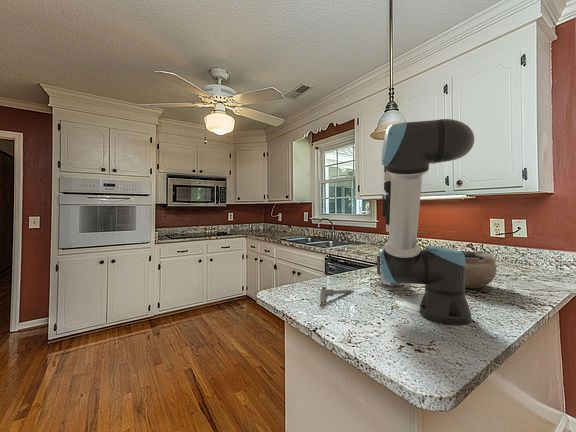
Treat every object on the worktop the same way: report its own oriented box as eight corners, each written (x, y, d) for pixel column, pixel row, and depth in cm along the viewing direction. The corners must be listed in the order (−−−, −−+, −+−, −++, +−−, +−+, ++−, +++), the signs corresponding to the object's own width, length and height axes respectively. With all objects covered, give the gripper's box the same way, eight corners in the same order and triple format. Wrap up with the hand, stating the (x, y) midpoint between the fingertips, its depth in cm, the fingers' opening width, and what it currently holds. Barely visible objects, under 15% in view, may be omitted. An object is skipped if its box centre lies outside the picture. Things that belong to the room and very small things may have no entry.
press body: (408, 284, 125) (408, 253, 125) (396, 288, 119) (396, 256, 119) (383, 279, 136) (383, 250, 135) (371, 282, 130) (371, 252, 129)
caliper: (322, 303, 105) (322, 288, 105) (320, 303, 106) (320, 287, 106) (353, 292, 119) (353, 278, 119) (351, 291, 120) (351, 277, 119)
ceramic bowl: (476, 296, 110) (476, 260, 110) (428, 283, 130) (429, 252, 130) (507, 289, 119) (507, 255, 119) (458, 277, 139) (459, 248, 139)
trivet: (418, 286, 125) (418, 284, 125) (399, 293, 115) (399, 291, 115) (387, 279, 138) (386, 277, 138) (367, 285, 128) (367, 283, 128)
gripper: (395, 182, 133) (395, 229, 134) (373, 181, 122) (374, 232, 123) (410, 181, 127) (410, 230, 128) (388, 179, 116) (389, 233, 117)
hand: (392, 231), depth 126 cm, fingers open, 5 cm apart
